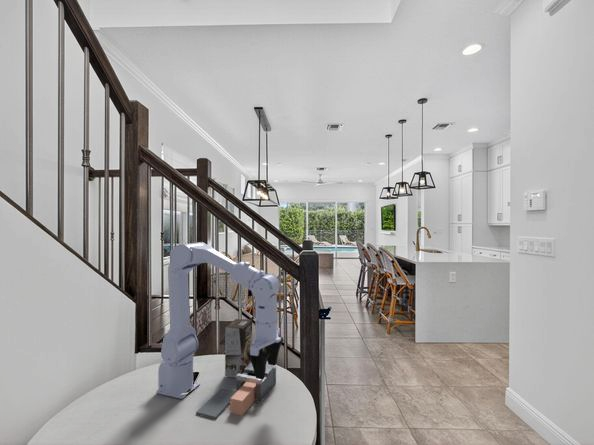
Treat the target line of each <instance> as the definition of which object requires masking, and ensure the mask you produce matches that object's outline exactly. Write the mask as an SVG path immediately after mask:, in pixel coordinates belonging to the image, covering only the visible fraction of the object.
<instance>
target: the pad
mask: <svg viewBox="0 0 594 445" xmlns="http://www.w3.org/2000/svg"><path fill="white" fill-rule="evenodd" d="M235 393H236V389H230V388H226V387H221V388H220V389H218V391H217V392H215V394H213V395H212V396H211V397H210V398H209V399H208V400H207V401H206V402H205V403H204V404H203V405H201V407H199V408H198V409H197V410H196V412H195V414H196V415H197V414H199V415H198V416H201V415H202V416H201V417H205V418H210V419H212V420H217V419H218V417H219V416H220V415H222V413H223V412H224V411H225V410H226V409H227V408H228V407H229V406H230V405H231V403H230V402H231V397H232V396H233V395H234V394H235ZM227 406H228V407H227ZM226 407H227V408H226ZM225 408H226V409H225Z"/></svg>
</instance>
